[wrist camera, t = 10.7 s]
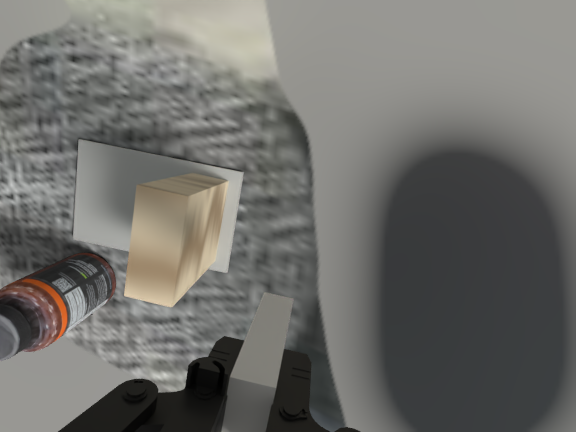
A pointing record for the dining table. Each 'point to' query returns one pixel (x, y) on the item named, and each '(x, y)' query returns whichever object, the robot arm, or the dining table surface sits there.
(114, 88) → the dining table surface
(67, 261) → the supplement bottle
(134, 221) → the small box
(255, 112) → the dining table surface
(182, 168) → the grey mat
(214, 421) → the robot arm
